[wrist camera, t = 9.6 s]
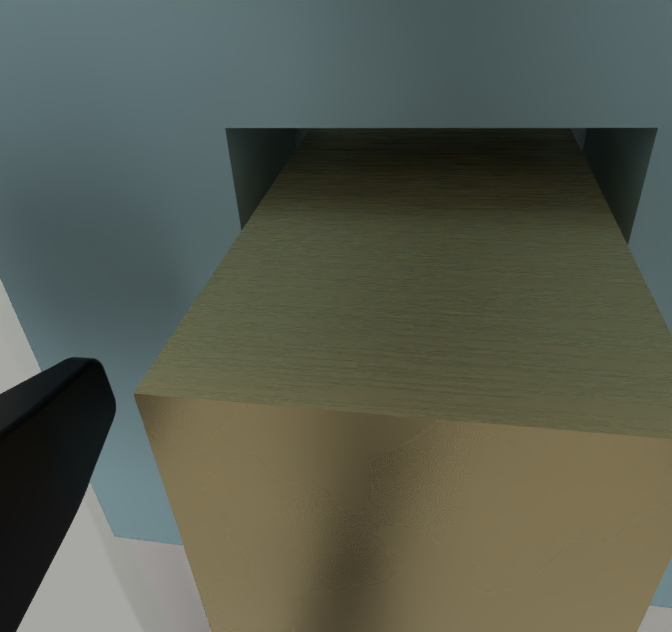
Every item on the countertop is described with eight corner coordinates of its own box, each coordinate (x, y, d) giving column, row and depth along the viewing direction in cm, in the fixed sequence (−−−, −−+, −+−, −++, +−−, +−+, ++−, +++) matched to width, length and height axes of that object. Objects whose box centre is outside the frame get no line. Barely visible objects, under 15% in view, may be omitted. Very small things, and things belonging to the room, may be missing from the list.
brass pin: (526, 298, 14) (596, 719, 7) (337, 289, 15) (220, 657, 8) (557, 101, 11) (724, 443, 4) (326, 102, 12) (133, 393, 5)
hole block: (698, 452, 17) (771, 620, 13) (184, 408, 20) (114, 536, 16) (1044, -351, 8) (1628, -604, 4) (10, -229, 11) (-258, -307, 7)
